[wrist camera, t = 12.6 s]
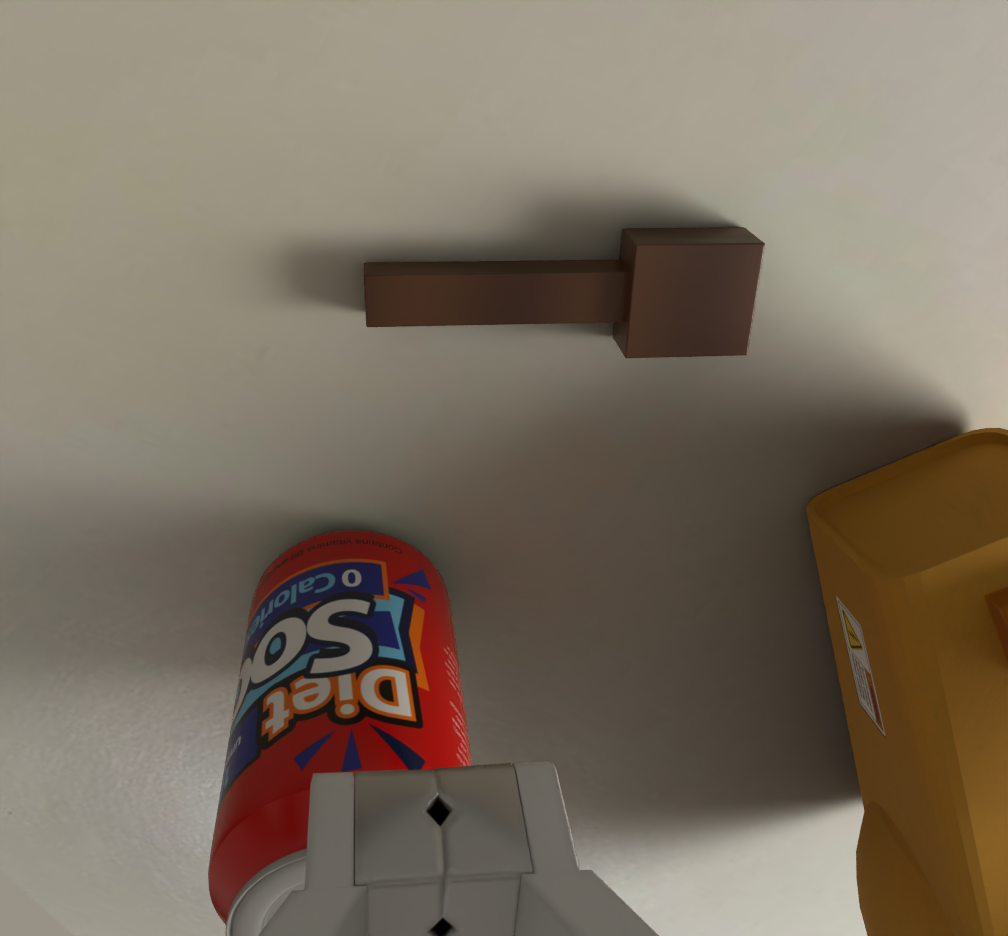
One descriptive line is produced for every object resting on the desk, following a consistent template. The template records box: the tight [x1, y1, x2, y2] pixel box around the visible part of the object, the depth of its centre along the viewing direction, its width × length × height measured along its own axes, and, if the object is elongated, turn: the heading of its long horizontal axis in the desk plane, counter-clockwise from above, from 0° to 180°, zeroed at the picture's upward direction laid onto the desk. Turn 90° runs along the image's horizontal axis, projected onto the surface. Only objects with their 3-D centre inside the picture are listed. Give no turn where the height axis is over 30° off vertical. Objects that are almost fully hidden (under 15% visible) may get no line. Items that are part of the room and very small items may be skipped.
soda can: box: [208, 530, 472, 936], centre depth 32 cm, size 8×8×15 cm
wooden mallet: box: [364, 228, 765, 358], centre depth 33 cm, size 13×4×2 cm, turn 88°
